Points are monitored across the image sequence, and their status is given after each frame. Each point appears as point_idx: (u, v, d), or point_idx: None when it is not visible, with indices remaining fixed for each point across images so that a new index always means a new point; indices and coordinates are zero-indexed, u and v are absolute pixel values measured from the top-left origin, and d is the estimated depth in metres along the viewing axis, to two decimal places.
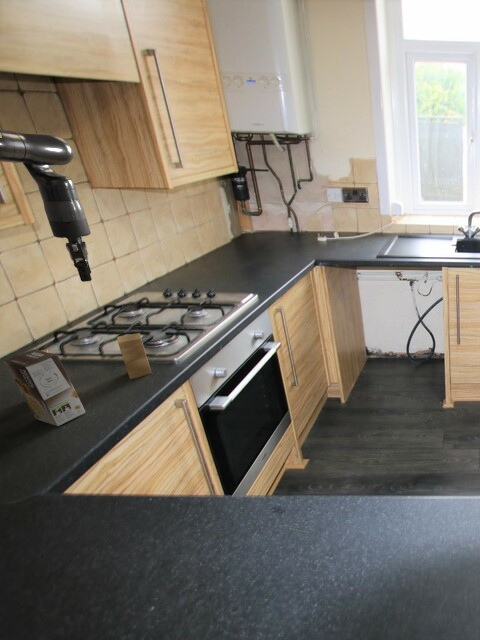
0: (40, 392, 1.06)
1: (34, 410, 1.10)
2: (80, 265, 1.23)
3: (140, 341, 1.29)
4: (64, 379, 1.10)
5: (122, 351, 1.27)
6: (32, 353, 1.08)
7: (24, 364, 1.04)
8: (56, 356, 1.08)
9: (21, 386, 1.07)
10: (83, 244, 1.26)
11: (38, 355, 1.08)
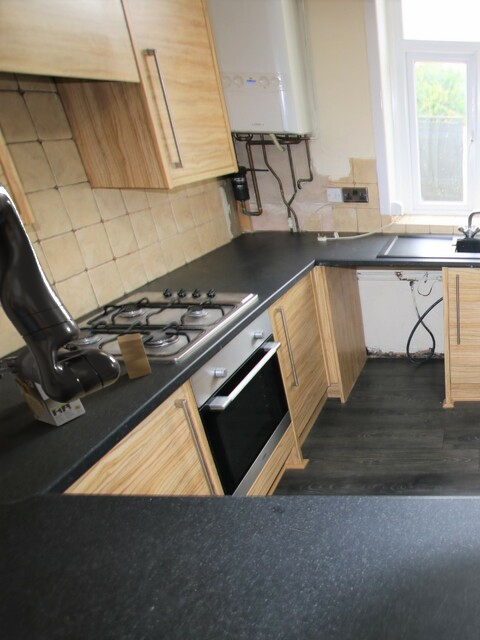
0: (40, 392, 1.06)
1: (34, 410, 1.10)
2: None
3: (140, 341, 1.29)
4: None
5: (122, 351, 1.27)
6: None
7: None
8: None
9: (21, 386, 1.07)
10: None
11: None
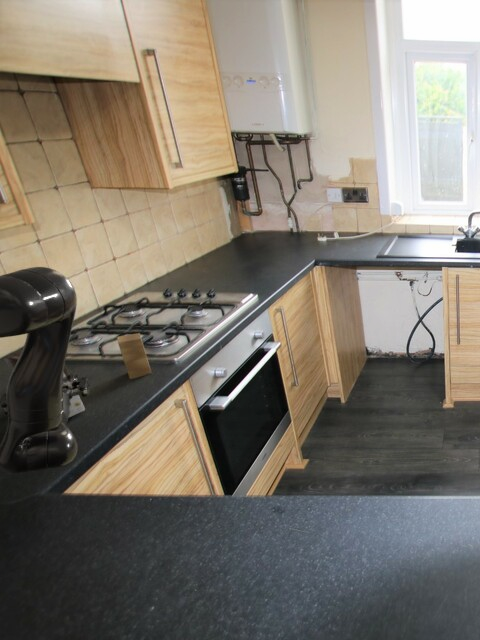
0: None
1: None
2: None
3: (140, 341, 1.29)
4: (64, 375, 1.11)
5: (122, 351, 1.27)
6: None
7: None
8: None
9: None
10: None
11: None
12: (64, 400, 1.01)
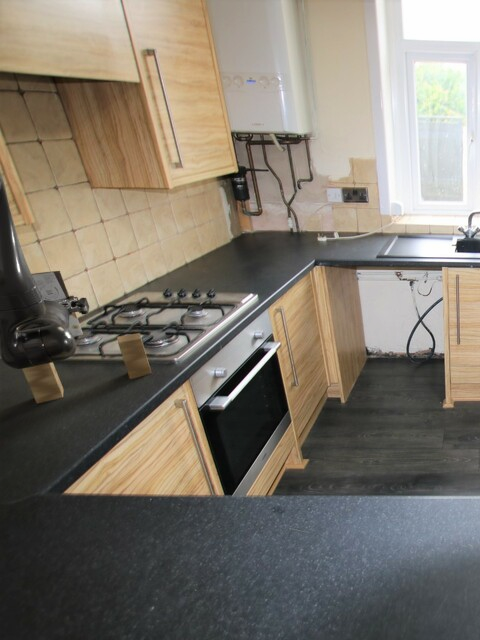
0: None
1: None
2: None
3: (140, 341, 1.29)
4: (64, 296, 1.13)
5: (122, 351, 1.27)
6: None
7: None
8: (58, 272, 1.13)
9: None
10: None
11: None
12: (64, 312, 1.03)
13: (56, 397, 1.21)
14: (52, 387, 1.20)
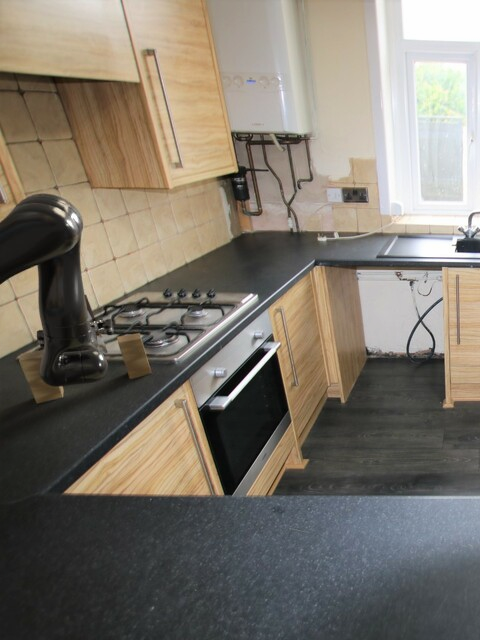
0: None
1: None
2: None
3: (140, 341, 1.29)
4: (90, 317, 1.23)
5: (122, 351, 1.27)
6: None
7: None
8: (85, 295, 1.22)
9: None
10: None
11: None
12: (93, 334, 1.13)
13: (56, 397, 1.21)
14: (52, 387, 1.20)
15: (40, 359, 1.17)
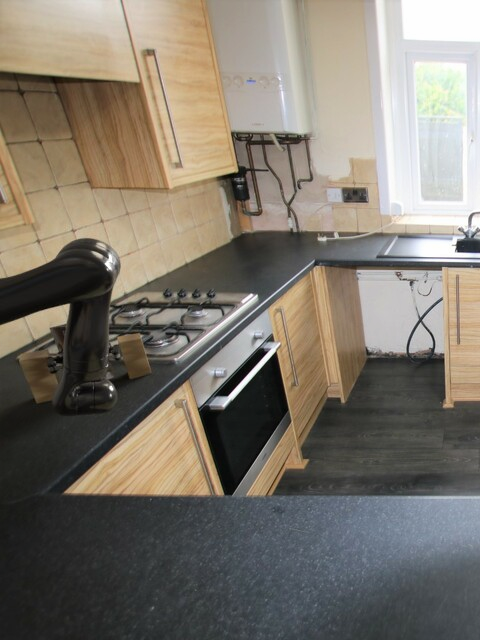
0: None
1: None
2: None
3: (140, 341, 1.29)
4: None
5: (122, 351, 1.27)
6: None
7: None
8: None
9: None
10: None
11: None
12: None
13: None
14: (52, 387, 1.20)
15: (40, 359, 1.17)
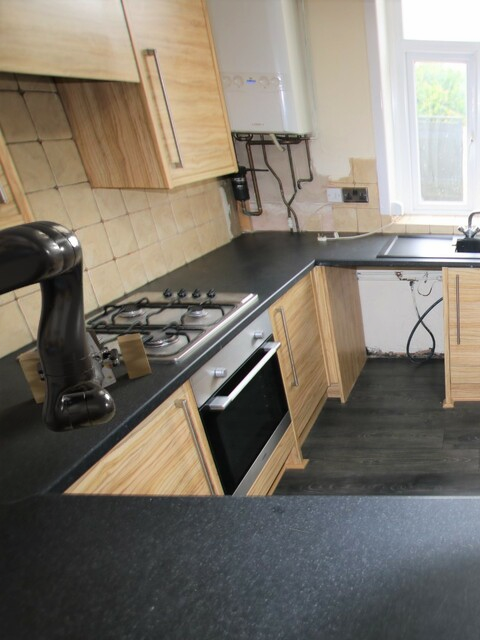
0: None
1: None
2: None
3: (140, 341, 1.29)
4: None
5: (122, 351, 1.27)
6: None
7: None
8: (92, 330, 1.22)
9: None
10: None
11: None
12: (98, 367, 1.05)
13: None
14: None
15: None
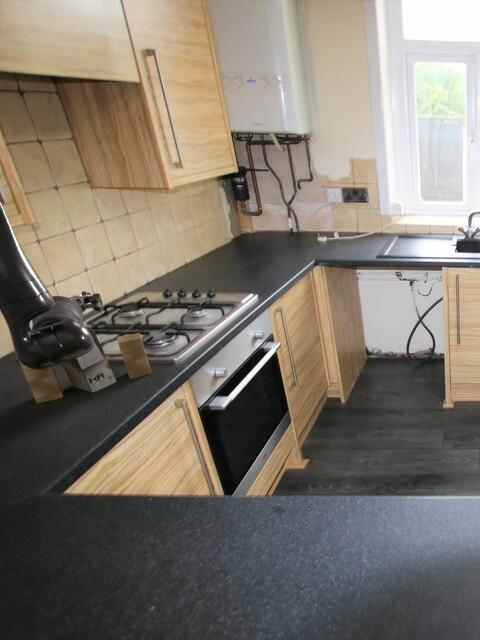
0: (79, 362, 1.20)
1: (72, 379, 1.25)
2: None
3: (140, 341, 1.29)
4: (99, 351, 1.24)
5: (122, 351, 1.27)
6: None
7: None
8: (92, 330, 1.22)
9: None
10: None
11: None
12: (78, 308, 1.00)
13: (56, 397, 1.21)
14: (52, 387, 1.20)
15: None
